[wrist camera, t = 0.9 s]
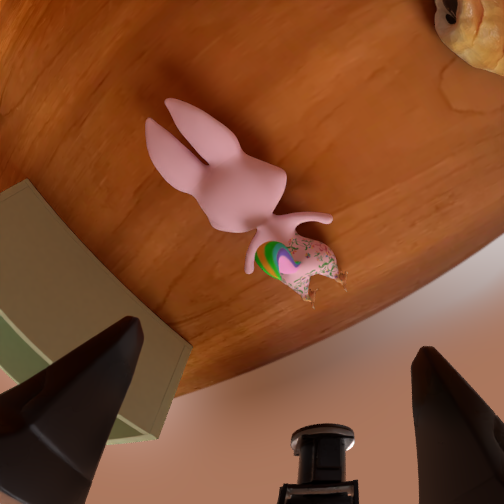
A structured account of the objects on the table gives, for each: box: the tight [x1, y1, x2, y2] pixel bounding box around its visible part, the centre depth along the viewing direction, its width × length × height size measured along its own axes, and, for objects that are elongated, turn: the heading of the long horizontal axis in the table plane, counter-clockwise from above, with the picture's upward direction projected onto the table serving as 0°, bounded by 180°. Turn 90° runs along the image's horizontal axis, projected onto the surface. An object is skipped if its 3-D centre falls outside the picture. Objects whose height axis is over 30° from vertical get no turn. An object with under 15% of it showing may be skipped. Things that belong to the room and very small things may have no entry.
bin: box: [0, 178, 192, 445], centre depth 21 cm, size 21×12×10 cm, turn 41°
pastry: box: [435, 0, 504, 76], centre depth 8 cm, size 9×7×4 cm
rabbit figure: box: [145, 98, 348, 309], centre depth 16 cm, size 6×6×15 cm
